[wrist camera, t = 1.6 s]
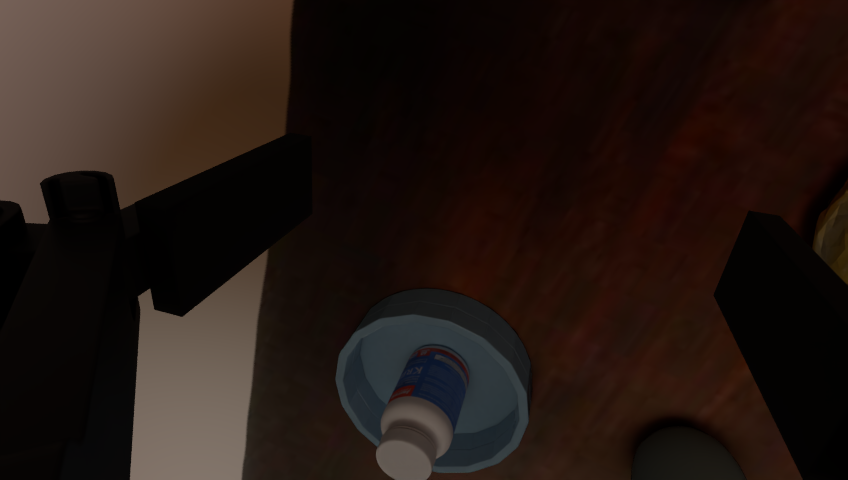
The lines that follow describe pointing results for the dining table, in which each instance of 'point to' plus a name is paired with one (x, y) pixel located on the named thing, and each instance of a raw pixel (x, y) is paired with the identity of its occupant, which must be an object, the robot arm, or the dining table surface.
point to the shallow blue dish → (469, 338)
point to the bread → (834, 233)
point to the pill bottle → (422, 413)
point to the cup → (683, 457)
